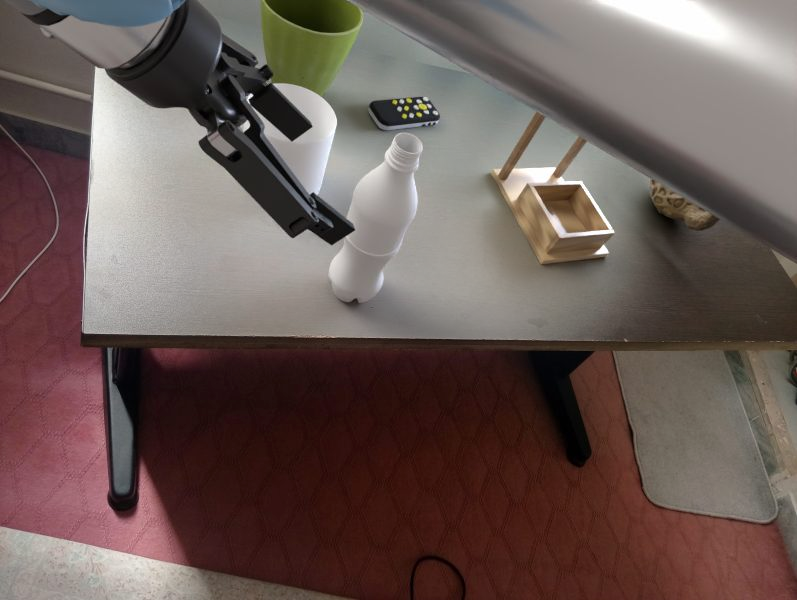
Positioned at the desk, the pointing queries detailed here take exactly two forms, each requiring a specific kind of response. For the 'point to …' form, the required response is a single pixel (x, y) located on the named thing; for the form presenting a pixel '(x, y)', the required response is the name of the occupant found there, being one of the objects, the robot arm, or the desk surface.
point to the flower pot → (308, 40)
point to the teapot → (680, 208)
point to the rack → (553, 206)
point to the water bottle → (377, 221)
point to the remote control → (403, 113)
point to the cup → (304, 136)
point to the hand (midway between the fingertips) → (320, 180)
